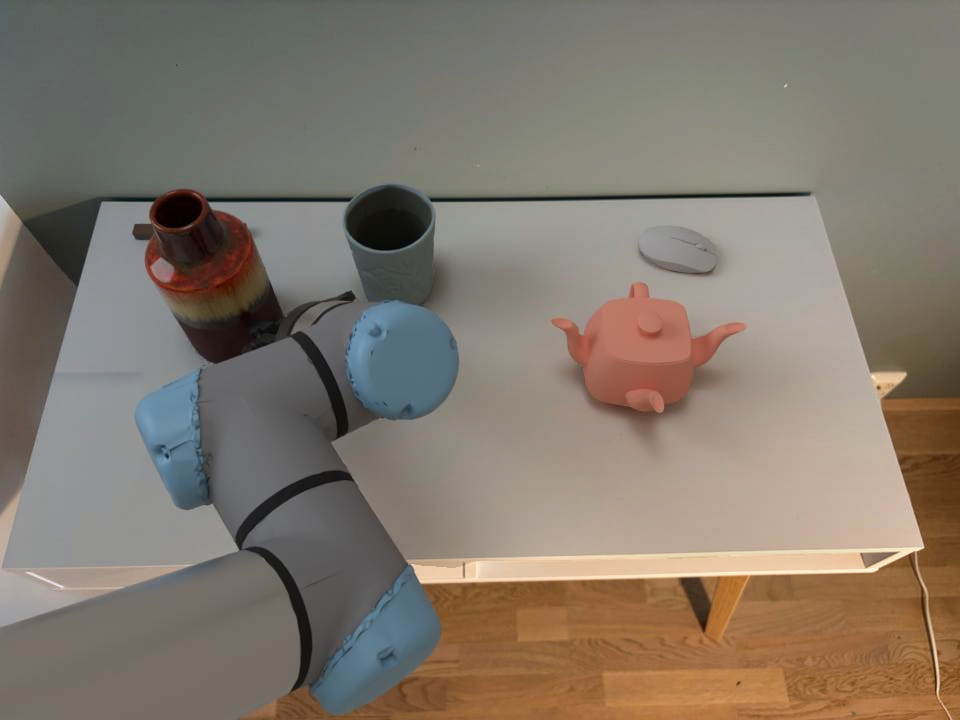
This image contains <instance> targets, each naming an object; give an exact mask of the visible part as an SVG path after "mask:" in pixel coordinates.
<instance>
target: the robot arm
mask: <svg viewBox="0 0 960 720" xmlns="http://www.w3.org/2000/svg"><path fill="white" fill-rule="evenodd" d="M246 330H247V331H248V332H249V334H250V335H251V336H252V338H253V339H252V340H251V341H250V344H251V345H248V346H245V347H244V348H243V350H242V351H241V355H240V356H237V357H234V358H231V359H229V360H226V361H223V362H221V363H218V364H213V365H210V366H207V367H205V368H202V367H200V368H197V369H195V370H194V371H192V372H190V373H187V374H186V375H184V376H181V377H180V378H177V379H175V380H173V381H171V382H169V383H166V384H165V385H163V386H161V387H160V388H158V389H156V390H154V391H152V392H150V393H148V394H146V395H145V396H143V397H142V398H141V399H140V400H139V402H138V403H137V404H136V406H135V410H134V415H133V416H134V422H135V425H136V427H137V431H138V433H139V435H140V437H141V439H142V441H143V443H144V446H145V448H146V450H147V452H148V454H149V456H150V459H151V461H152V463H153V465H154V468H155V469H156V471H157V473H158V475H159V477H160V480H161V481H162V483H163V485H164V487H165V489H166V491H167V493H168V494H169V496H170V498H171V501H172V503H174V505H175V506H176V507H177V508H178V509H180V510H183V511H191V510H194V509H196V508H199V507H202V506H210V505H213V507H214V509H215V510H216V513H217V514H218V516H219V517H220V519H221V522H222V523H223V524H224V526H225V528H226V529H227V531H228V533H229V534H230V536H231V538H232V539H233V542H234V543H235V545H236V547H237V549H238V550H237V551H234V552H230V553H227V554H224V555H221V556H217V557H215V558H211V559H208V560H205V561H202V562H199V563H196V564H192V565H189V566H187V567H184V568H180V569H177V570H174V571H171V572H168V573H165V574H161V575H158V576H155V577H152V578H149V579H146V580H143V581H140V582H136V583H134V584H131V585H130V584H129V585H128V586H127V585H126V586H124V587H121V588H118V589H115V590H111V591H109V592H105V593H103V594H99V595H96V596H93V597H90V598H87V599H84V600H80V601H77V602H74V603H72V604H68V605H65V606H61V607H59V608H55V609H53V610H49V611H46V612H44V613H43V612H42V613H40V614H37V615H34V616H31V617H28V618H27V617H26V618H25V619H22V620H19V621H16V622H12V623H9V624H6V625H3V626H0V720H239V719H241V718H243V717H245V716H247V715H249V714H252V713H253V712H256V711H257V710H258V709H261V708H263V707H265V706H267V705H269V704H271V703H272V702H274V701H277V700H279V699H281V698H282V697H284V696H286V695H289V694H290V693H292V692H294V691H297V690H299V689H302V688H305V687H308V690H309V693H310V696H313V697H315V698H316V700H317V701H318V702H319V704H320V706H321V707H322V709H323V710H324V712H327V713H328V714H330V715H332V716H343V715H345V714H349V713H350V712H351V711H353V710H358V709H361V708H362V707H365V706H366V705H368V704H369V703H371V702H373V701H375V700H376V699H378V698H379V697H381V696H382V695H384V694H385V693H387V692H388V691H390V690H391V689H392V688H394V687H396V686H397V685H398V684H399V683H400V682H402V681H404V679H406V678H407V677H408V676H410V675H411V674H412V673H413V672H414V671H416V670H417V669H418V668H420V666H421V665H422V664H423V663H424V662H425V661H426V660H427V659H428V658H429V657H430V656H431V655H432V654H433V652H434V651H435V650H436V648H437V646H438V645H439V642H440V640H441V637H442V622H441V620H440V617H439V615H438V613H437V612H436V609H435V608H434V606H433V604H432V602H431V600H430V598H429V596H428V594H427V593H426V591H425V589H424V587H423V585H422V583H421V582H420V579H419V578H418V576H417V575H416V572H415V568H414V567H413V565H412V564H411V563H408V561H407V559H406V558H405V556H404V555H403V554H402V552H401V550H400V549H399V548H398V546H397V545H396V543H395V542H394V540H393V539H392V537H391V535H390V534H389V532H388V530H387V529H386V528H385V526H384V525H383V523H382V522H381V520H380V519H379V516H377V514H376V513H375V511H374V509H373V508H372V507H371V504H370V503H369V501H368V500H367V498H366V497H365V495H364V494H363V493H362V491H361V490H360V488H359V485H358V484H357V483H356V481H355V479H354V478H353V477H354V476H353V475H352V474H351V472H350V471H349V468H347V466H346V464H345V463H344V461H343V460H342V458H341V456H340V455H339V453H338V452H337V450H336V448H335V447H334V446H333V444H332V443H333V442H335V441H338V440H339V439H342V438H343V437H344V436H346V435H347V434H350V433H352V432H354V431H356V430H358V429H360V428H362V427H364V426H366V425H369V424H371V423H372V422H374V421H377V420H379V419H382V420H383V419H386V420H388V421H391V420H392V421H397V420H398V421H399V420H401V421H412V420H417V419H421V418H424V417H426V416H428V415H430V414H431V413H434V412H435V411H436V410H437V409H438V408H439V407H441V406H442V405H443V403H445V401H446V400H448V397H449V396H450V395H451V393H452V391H453V389H454V387H455V384H456V382H457V378H458V374H459V366H460V354H459V349H458V348H459V347H458V344H457V340H456V338H455V336H454V333H453V331H452V330H451V328H450V326H449V325H448V324H447V323H446V322H445V321H444V319H443V318H442V317H440V316H439V315H438V314H437V313H435V312H433V311H432V310H430V309H428V308H427V307H424V306H420V305H419V306H417V305H410V304H408V303H407V304H405V302H400V301H398V300H395V301H391V300H384V301H382V302H371V301H359V299H358V298H357V295H355V293H354V292H353V291H352V290H351V289H350V290H348V291H345V292H343V293H341V294H339V295H337V296H334V297H330V298H325V299H323V300H312V301H308V302H305V303H302V304H300V305H298V306H297V307H295V308H293V309H292V310H291V311H290V312H289V313H288V314H287V315H286V316H283V318H280V319H279V320H277V321H276V322H268V321H259V320H257V321H256V322H255V323H253V324H252V325H251V326H249V327H248V328H247V329H246Z"/></svg>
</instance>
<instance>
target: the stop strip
mask: <svg viewBox="0 0 960 720" xmlns="http://www.w3.org/2000/svg"><path fill="white" fill-rule="evenodd" d="M243 223H244V224H245V225H246V227H247V228H248V227H249V226H248V225H247V223H246V222H243ZM248 229H249V228H248ZM154 233H155V231H154V228H153V226H152V224H151V223H134V225H133V228H132V232H131V234H132V236H133V237H134V239H135V240H150V239H151V237H152V236H153V235H154Z"/></svg>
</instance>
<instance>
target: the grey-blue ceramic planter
mask: <svg viewBox="0 0 960 720" xmlns="http://www.w3.org/2000/svg"><path fill="white" fill-rule="evenodd" d="M436 218H437V217H436V209H435V207H434V204H433V203H432V200H431V199H430V198H429V197H428V196H427V195H426V194H425V193H424V192H422V191H421V190H420V189H418V188H416V187H413V186H411V185H407V184H403V183H397V182H396V183H394V182H393V183H392V182H387V183H380V184H375V185H372V186H369V187H367V188H365V189H362V190H361V191H360V192H358V193H357V194H356V195H354V197H352V199H351V200H350V201H349V202H348V203H347V205H346V206H345V208H344V211H343V214H342V218H341V219H342V221H341V224H342V229H343V232H344V234H345V237H346V240H347V243H348V246H349V249H350V250H351V255H352V258H353V261H354V264H355V268H356V269H357V274H358V277H359V280H360V282H361V286H362V289H363V292H364V294H365V296H366V299H368V300H369V302H382V301H384V300H391V301H395V300H398V301H400V302H405V304H407V303H408V304H410V305H417V306H420V305H422V304H423V303H424V302H425V301H426V300H427V299H428V297H429V296H430V294H431V292H432V291H433V290H432V289H433V287H434V286H433V285H434V271H435V270H434V266H433V262H434V257H435V250H434V249H435V240H434V237H435V232H436Z"/></svg>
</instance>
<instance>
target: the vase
mask: <svg viewBox="0 0 960 720" xmlns="http://www.w3.org/2000/svg"><path fill="white" fill-rule="evenodd" d="M148 217H149V221H150V224H152V226H153V228H154V231H155V233H154V235H153V236H152V237H151V239H149V241H148V242H147V245H146V248H145V252H144V266H145V270H146V273H147V275H148V276H149V278H150V280H151V281H152V283H153V284H154V287H155V288H156V290H157V291H158V293H159V294H160V296H161V298H162V299H163V301H164V302H165V304H166V306H167V307H168V309H169V311H170V312H171V314H172V315H173V317H174V318H175V320H176V322H177V323H178V325H179V326H180V329H181V330H182V331H183V332H184V334H185V336H186V338H187V339H188V340H189V342H190V344H191V346H192V347H193V348H194V350H195V352H197V354H199V356H200V357H202V358H203V359H205V360H206V361H207V362H210V363H211V364H213V365H215V364H218V363H221V362H223V361H226V360H229V359H231V358H234V357H237V356H240V355H241V351H242V350H243V348H244V347H245V346H248V345H251V344H250V341H251V340H252V339H253V338H252V336H251V335H250V334H249V332H248V331H247V330H246V329H247V328H248V327H249V326H251V325H252V324H253V323H255V322H256V321H257V320H259V321H268V322H276V321H277V320H279V319H280V318H283V317H284V314H283V310H282V308H281V305H280V302H279V300H278V298H277V297H278V296H277V294H276V293H275V290H274V287H273V285H272V282H271V280H270V277H269V275H268V272H267V270H266V267H265V264H264V262H263V260H262V257H261V255H260V252H259V250H258V247H257V245H256V242H255V240H254V238H253V235H252V233H251V231H250V229H249V228H247V227H248V226H247V227H246V225H247V224H246V225H245V224H244V223H245V222H243V221H242V220H241V219H240V218H238V217H237V216H235V215H233V214H231V213H230V212H226V211H222V210H217V209H212V207H211V205H210V203H209V201H208V200H207V198H206V197H205V196H204V194H202V193H201V192H199V191H198V190H195V189H191V188H177V189H172V190H169V191H167V192H164V193H163V194H161V195H160V196H159V197H157V198H156V199H155V200H154V202H153V203H152V204H151V206H150V208H149V211H148Z"/></svg>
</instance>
